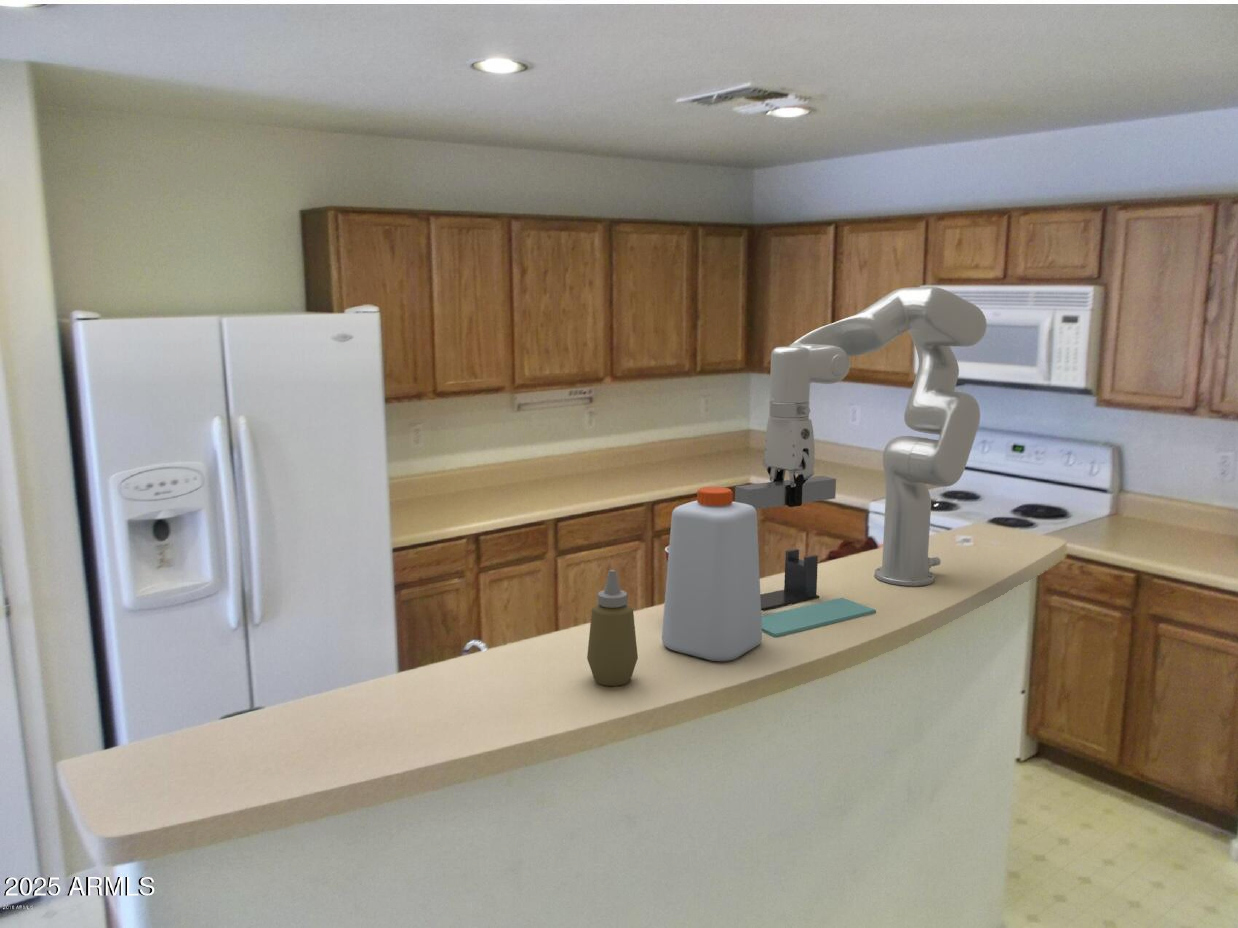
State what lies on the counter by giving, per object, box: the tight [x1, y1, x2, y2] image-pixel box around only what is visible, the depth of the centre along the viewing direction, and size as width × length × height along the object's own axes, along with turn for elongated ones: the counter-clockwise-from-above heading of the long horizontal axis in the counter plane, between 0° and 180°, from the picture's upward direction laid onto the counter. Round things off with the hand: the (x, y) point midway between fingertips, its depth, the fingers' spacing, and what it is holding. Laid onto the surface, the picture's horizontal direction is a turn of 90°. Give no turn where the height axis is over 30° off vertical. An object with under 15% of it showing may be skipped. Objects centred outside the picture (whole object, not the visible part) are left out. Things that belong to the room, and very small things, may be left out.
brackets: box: [760, 548, 820, 612], centre depth 182 cm, size 20×7×9 cm, turn 122°
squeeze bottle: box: [586, 569, 639, 687], centre depth 142 cm, size 8×8×18 cm
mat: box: [761, 597, 877, 638], centre depth 173 cm, size 26×9×1 cm, turn 122°
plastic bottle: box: [661, 486, 763, 662], centre depth 157 cm, size 15×15×28 cm
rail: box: [734, 475, 837, 511], centre depth 176 cm, size 22×4×4 cm, turn 120°
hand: (786, 503), depth 176 cm, fingers closed on rail, 4 cm apart
